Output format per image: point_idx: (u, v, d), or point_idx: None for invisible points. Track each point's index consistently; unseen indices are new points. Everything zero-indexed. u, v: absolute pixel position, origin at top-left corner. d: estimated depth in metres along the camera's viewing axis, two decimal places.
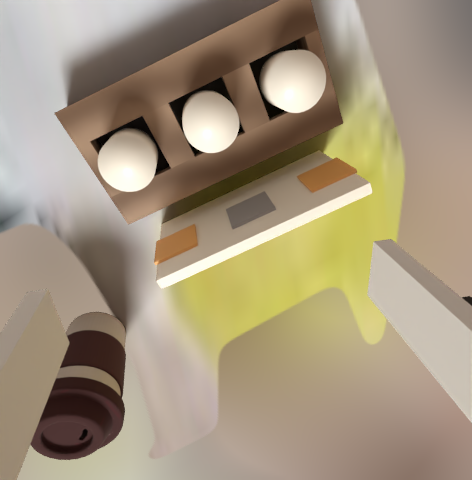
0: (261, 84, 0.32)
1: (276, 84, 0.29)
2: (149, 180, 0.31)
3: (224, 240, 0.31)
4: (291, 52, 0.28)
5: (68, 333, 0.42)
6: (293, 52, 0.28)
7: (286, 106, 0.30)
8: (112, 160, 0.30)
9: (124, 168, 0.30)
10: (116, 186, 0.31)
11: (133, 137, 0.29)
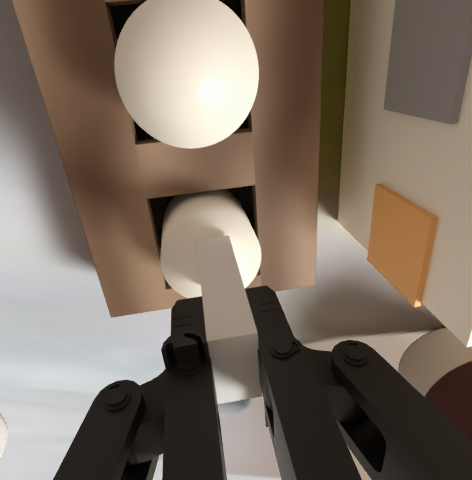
0: None
1: None
2: (252, 235, 0.16)
3: None
4: None
5: None
6: None
7: None
8: (195, 278, 0.17)
9: None
10: None
11: (169, 233, 0.16)
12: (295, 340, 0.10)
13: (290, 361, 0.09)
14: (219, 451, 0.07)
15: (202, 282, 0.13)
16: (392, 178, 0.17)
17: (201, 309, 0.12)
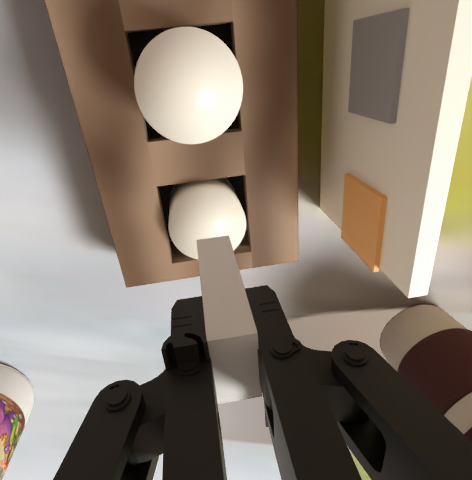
0: None
1: None
2: (238, 207, 0.21)
3: (410, 153, 0.15)
4: None
5: None
6: None
7: None
8: (195, 240, 0.22)
9: (211, 231, 0.22)
10: None
11: (175, 204, 0.21)
12: (295, 340, 0.10)
13: (290, 361, 0.09)
14: (219, 451, 0.07)
15: (202, 282, 0.13)
16: (356, 168, 0.20)
17: (201, 309, 0.12)
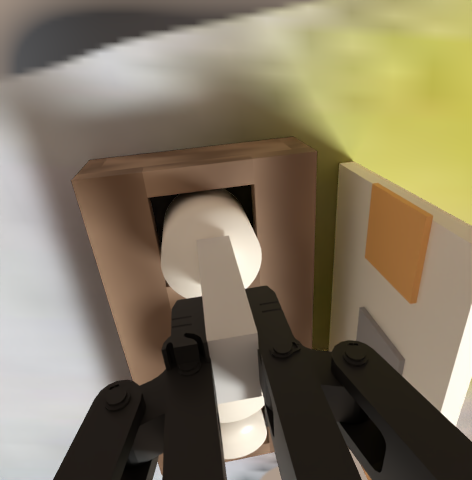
0: None
1: None
2: (260, 424, 0.25)
3: None
4: (162, 265, 0.16)
5: None
6: (163, 262, 0.16)
7: None
8: (223, 448, 0.26)
9: (237, 441, 0.26)
10: (252, 450, 0.26)
11: None
12: (295, 340, 0.10)
13: (290, 361, 0.09)
14: (219, 451, 0.07)
15: (202, 282, 0.13)
16: None
17: (201, 309, 0.12)
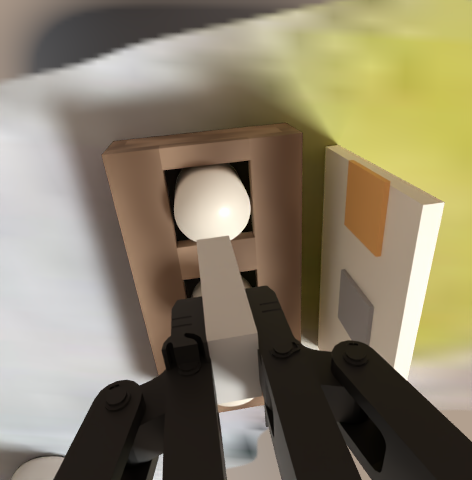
0: None
1: (206, 237, 0.23)
2: None
3: None
4: (175, 212, 0.22)
5: None
6: (176, 210, 0.22)
7: (236, 229, 0.23)
8: None
9: None
10: (249, 398, 0.30)
11: None
12: (295, 340, 0.10)
13: (290, 361, 0.09)
14: (219, 451, 0.07)
15: (202, 282, 0.13)
16: None
17: (201, 309, 0.12)
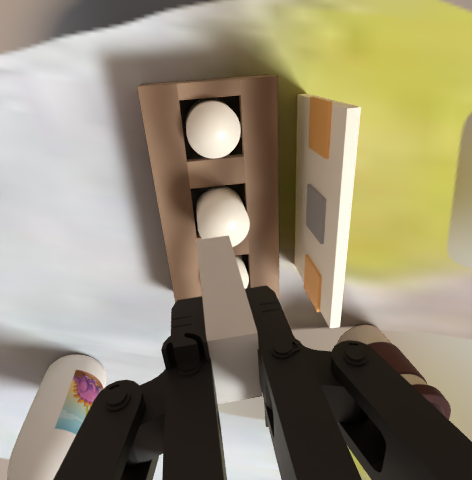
0: None
1: (209, 151, 0.32)
2: (244, 271, 0.38)
3: (328, 260, 0.32)
4: (187, 131, 0.31)
5: None
6: (187, 129, 0.30)
7: (230, 147, 0.32)
8: None
9: None
10: None
11: None
12: (295, 340, 0.10)
13: (290, 361, 0.09)
14: (219, 451, 0.07)
15: (202, 282, 0.13)
16: (310, 254, 0.37)
17: (201, 309, 0.12)
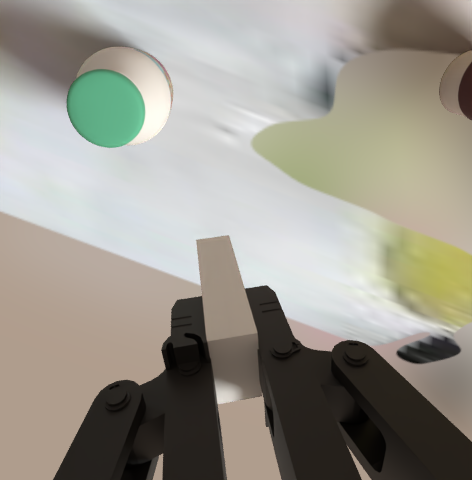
0: None
1: None
2: None
3: None
4: None
5: (454, 93, 0.41)
6: None
7: None
8: None
9: None
10: None
11: None
12: (295, 340, 0.10)
13: (290, 361, 0.09)
14: (219, 451, 0.07)
15: (202, 282, 0.13)
16: None
17: (201, 309, 0.12)
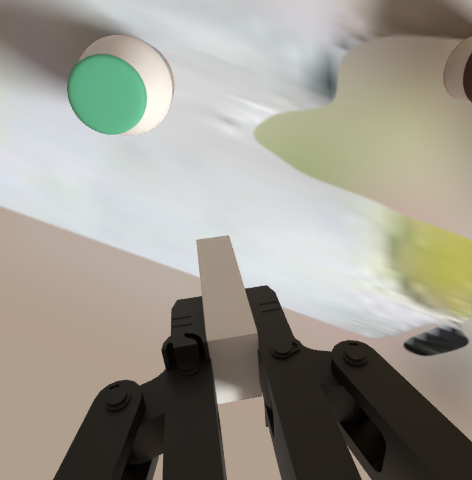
0: None
1: None
2: None
3: None
4: None
5: (459, 78, 0.40)
6: None
7: None
8: None
9: None
10: None
11: None
12: (295, 340, 0.10)
13: (290, 361, 0.09)
14: (219, 451, 0.07)
15: (202, 282, 0.13)
16: None
17: (201, 309, 0.12)
